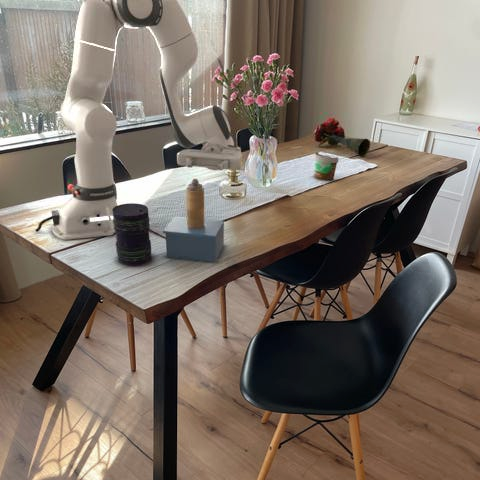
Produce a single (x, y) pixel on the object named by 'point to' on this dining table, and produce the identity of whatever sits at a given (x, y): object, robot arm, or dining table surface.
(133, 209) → the black cylinder
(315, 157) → the food container
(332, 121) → the red rose bouquet
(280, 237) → the dining table surface
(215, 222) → the box lid
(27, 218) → the dining table surface
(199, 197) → the pepper mill
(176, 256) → the storage box
